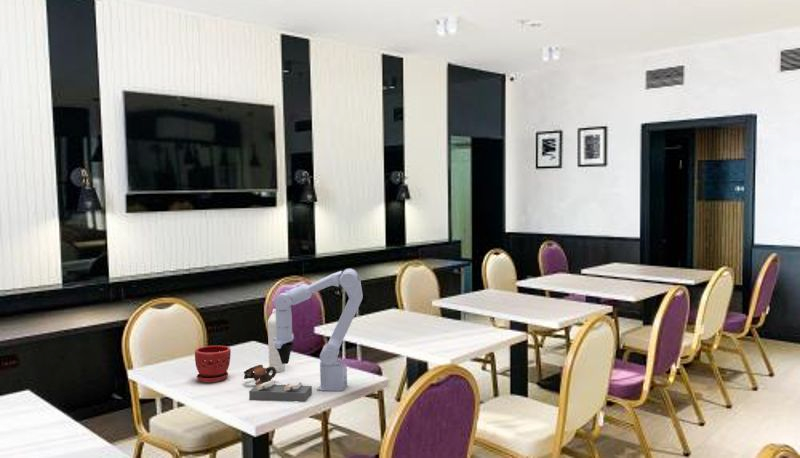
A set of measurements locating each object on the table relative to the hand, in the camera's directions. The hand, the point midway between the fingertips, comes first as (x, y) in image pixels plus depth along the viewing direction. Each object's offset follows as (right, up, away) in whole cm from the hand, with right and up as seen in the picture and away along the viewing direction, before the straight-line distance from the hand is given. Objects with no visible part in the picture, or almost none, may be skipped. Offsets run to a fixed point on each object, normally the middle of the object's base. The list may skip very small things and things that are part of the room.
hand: (285, 363), depth 227 cm
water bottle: (-7, -8, +25) cm, 27 cm away
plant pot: (-30, -9, +14) cm, 34 cm away
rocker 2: (+5, -6, -11) cm, 13 cm away
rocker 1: (-5, -6, -9) cm, 12 cm away
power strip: (0, -10, -9) cm, 13 cm away
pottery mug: (-10, -10, +7) cm, 16 cm away
